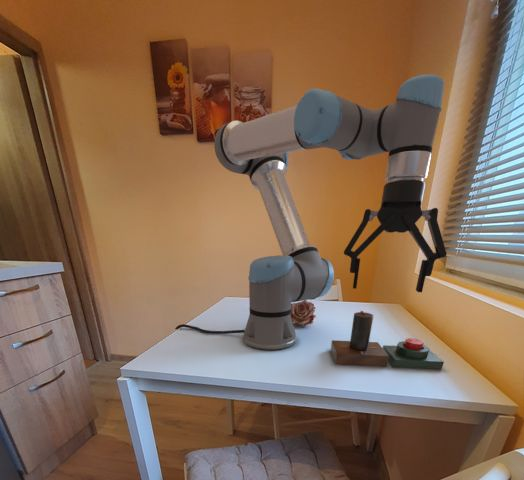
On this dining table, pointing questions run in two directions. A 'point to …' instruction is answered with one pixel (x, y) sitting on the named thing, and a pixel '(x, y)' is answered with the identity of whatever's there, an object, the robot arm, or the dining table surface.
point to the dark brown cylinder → (361, 331)
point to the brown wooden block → (359, 355)
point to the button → (413, 344)
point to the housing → (412, 357)
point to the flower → (302, 312)
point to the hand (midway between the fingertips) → (385, 289)
